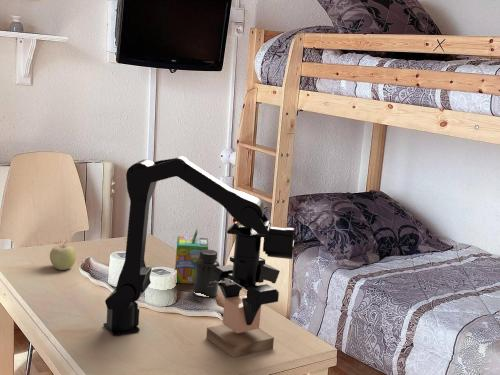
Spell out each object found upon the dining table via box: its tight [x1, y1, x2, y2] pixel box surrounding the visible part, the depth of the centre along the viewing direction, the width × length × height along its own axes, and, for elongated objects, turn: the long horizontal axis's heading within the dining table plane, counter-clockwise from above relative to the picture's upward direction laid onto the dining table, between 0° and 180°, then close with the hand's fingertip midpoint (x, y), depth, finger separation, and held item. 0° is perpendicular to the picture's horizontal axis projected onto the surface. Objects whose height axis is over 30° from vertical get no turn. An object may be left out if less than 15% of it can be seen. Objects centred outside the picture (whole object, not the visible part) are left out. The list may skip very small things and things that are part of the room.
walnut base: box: [205, 323, 275, 358], centre depth 146 cm, size 11×11×2 cm
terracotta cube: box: [222, 294, 262, 333], centre depth 145 cm, size 6×6×6 cm
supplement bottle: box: [192, 249, 221, 298], centre depth 175 cm, size 7×7×12 cm
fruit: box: [49, 242, 77, 271], centre depth 186 cm, size 8×7×8 cm
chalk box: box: [174, 228, 209, 285], centre depth 185 cm, size 9×9×15 cm
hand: (241, 319), depth 146 cm, fingers closed on terracotta cube, 6 cm apart
